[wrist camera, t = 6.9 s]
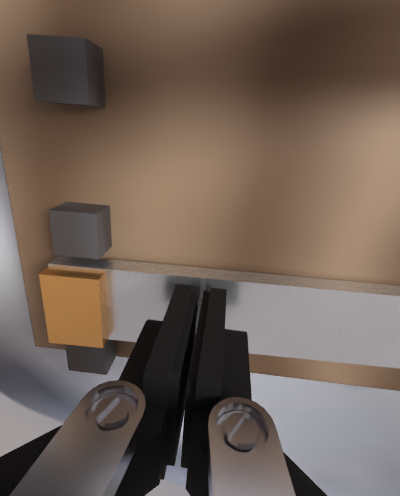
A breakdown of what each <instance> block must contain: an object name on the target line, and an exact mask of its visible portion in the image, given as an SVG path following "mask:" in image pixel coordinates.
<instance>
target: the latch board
mask: <svg viewBox="0 0 400 496" xmlns="http://www.w3.org/2000/svg"><path fill="white" fill-rule="evenodd" d="M0 146H1V152H2V158H3V163H4V169H5V175H6V180H7V186H8V192H9V198H10V203H11V209H12V215H13V221H14V226H15V232H16V238H17V244H18V249H19V255H20V261H21V267H22V272H23V278H24V284H25V290H26V295H27V301H28V307H29V313H30V318H31V324H32V330H33V336H34V341H35V346H39V347H47V348H55V349H64V350H66V353H67V360H68V368H69V370H72V371H80V372H88V373H96V374H104V375H107V373H108V371H109V369H110V367H111V365H112V363H113V361H114V359H115V357H116V356H120V357H130V355H131V352H132V350H133V348H134V346H135V344H136V342H129V341H119V340H109V339H108V340H107V342H106V344H105V346H104V348H97V347H87V346H77V345H67V344H57V343H49V339H48V332H47V326H46V319H45V312H44V306H43V299H42V293H41V286H40V279H39V274H40V273H41V272H42V271H43V270H45V269H46V268H47V267H48V264H49V263H50V262H51V261H52V260H54V259H55V258H56V257H57V256H59V255H61V256H71V257H81V258H90V259H100V258H101V259H112V260H123V261H134V262H145V263H156V264H167V265H178V266H189V267H200V268H211V269H222V270H233V271H244V272H255V273H266V274H277V275H287V276H298V277H309V278H320V279H331V280H342V281H353V282H364V283H375V284H386V285H397V286H400V0H0ZM249 366H250V372H251V373H259V374H267V375H275V376H283V377H291V378H299V379H307V380H316V381H324V382H332V383H340V384H348V385H356V386H364V387H373V388H381V389H389V390H397V391H400V369H399V368H389V367H379V366H369V365H359V364H349V363H339V362H329V361H319V360H309V359H299V358H289V357H279V356H269V355H259V354H249Z"/></svg>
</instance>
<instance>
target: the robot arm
mask: <svg viewBox="0 0 400 496" xmlns="http://www.w3.org/2000/svg"><path fill="white" fill-rule="evenodd" d="M226 295H227V289H220V288H212V287H211V288H210V292H209V291H204V292H203V298H202V303H201V308H200V313H199V319H198V324H197V329H196V322H197V309H198V296H199V290H193V285H186V284H176V287H175V289H174V292H173V295H172V297H171V300H170V303H169V305H168V308H167V311H166V313H165V316H164V319H163V321H158V320H150V319H148V320H147V321H146V322H145V324H144V326H143V328H142V331H141V333H140V335H139V337H138V339H137V342H136V344H135V346H134V348H133V350H132V352H131V355H130V357H129V359H128V361H127V363H126V365H125V368H124V370H123V372H122V374H121V376H120V379H119V380H117V381H109V382H106V383H103V384H100V385H98V386H97V387H95V388H93V389H92V390H90V391H89V392H88V393H87V394H86V395H85V396H84V397H83V399H82V400H81V401H80V403H79V404H78V405H77V407H76V408H75V409H74V411H73V412H72V413H71V415H70V416H69V417H68V419H67V420H66V421H65V423H64V424H63V425H61V426H60V427H57V428H55V429H54V430H52V431H50V432H48V433H46V434H44V435H42V436H40V437H38V438H36V439H34V440H32V441H30V442H29V443H26V444H24V445H23V446H21V447H19V448H17V449H15V450H13V451H11V452H9V453H7V454H5V455H3V456H2V457H0V496H145V495H146V494H147V493H148V492H150V491H151V490H152V489H153V488H155V487H156V486H158V485H159V483H160V479H164V477H165V472H166V467H167V465H171V466H174V465H175V461H176V455H177V449H178V444H179V438H180V433H181V427H182V421H183V416H184V429H183V443H182V457H181V467H183V468H188V469H187V481H186V490H187V491H188V493H189V494H190V496H327V495H326V494H325V493H324V492H323V491H322V490H321V489H320V488H319V487H318V486H317V485H316V484H315V483H314V482H313V481H312V480H311V479H310V478H309V477H308V476H307V475H306V474H305V473H304V472H303V471H302V470H301V469H300V468H299V467H298V466H297V465H296V464H295V463H294V462H293V461H292V460H291V459H290V458H289V457H288V456H287V455H286V454H285V453H284V452H283V451H282V448H281V444H280V441H279V437H278V434H277V430H276V427H275V424H274V422H273V420H272V418H271V416H270V415H269V414H268V413H267V411H266V410H265V409H264V408H263V407H261V406H260V405H259V404H257V403H256V402H254V401H252V399H251V383H250V366H249V350H248V335H247V332H246V331H238V330H230V329H225V315H226ZM195 334H196V335H195ZM184 410H185V414H184Z"/></svg>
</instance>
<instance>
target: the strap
mask: <svg viewBox="0 0 400 496" xmlns="http://www.w3.org/2000/svg"><path fill="white" fill-rule="evenodd" d="M39 279H40V286H41V293H42V299H43V306H44V312H45V319H46V326H47V332H48V339H49V343H57V344H67V345H77V346H87V347H97V348H104V346H105V344H106V342H107V340H108V339H109V340H119V341H129V342H137V339H138V337H139V335H140V333H141V331H142V328H143V326H144V324H145V322H146V321H147V320H148V319H150V320H158V321H163V319H164V316H165V313H166V311H167V308H168V305H169V303H170V300H171V297H172V295H173V292H174V289H175V287H176V284H186V285H193V290H199V296H198V309H197V322H196V329H197V324H198V319H199V313H200V308H201V303H202V298H203V292H204V291H209V292H210V288H211V287H212V288H220V289H227V295H226V315H225V329H230V330H238V331H246V332H247V335H248V350H249V354H259V355H269V356H279V357H289V358H299V359H309V360H319V361H329V362H339V363H349V364H359V365H369V366H379V367H389V368H399V369H400V286H397V285H386V284H375V283H364V282H353V281H342V280H331V279H320V278H309V277H298V276H287V275H277V274H266V273H255V272H244V271H233V270H222V269H211V268H200V267H189V266H178V265H167V264H156V263H145V262H134V261H123V260H112V259H101V258H100V259H90V258H81V257H71V256H61V255H59V256H57V257H56V258H55V259H54V260H52V261H51V262H50V263H49V264H48V267H47V268H46V269H45V270H43V271H42V272H41V273H40V274H39ZM195 335H196V334H195Z"/></svg>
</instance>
